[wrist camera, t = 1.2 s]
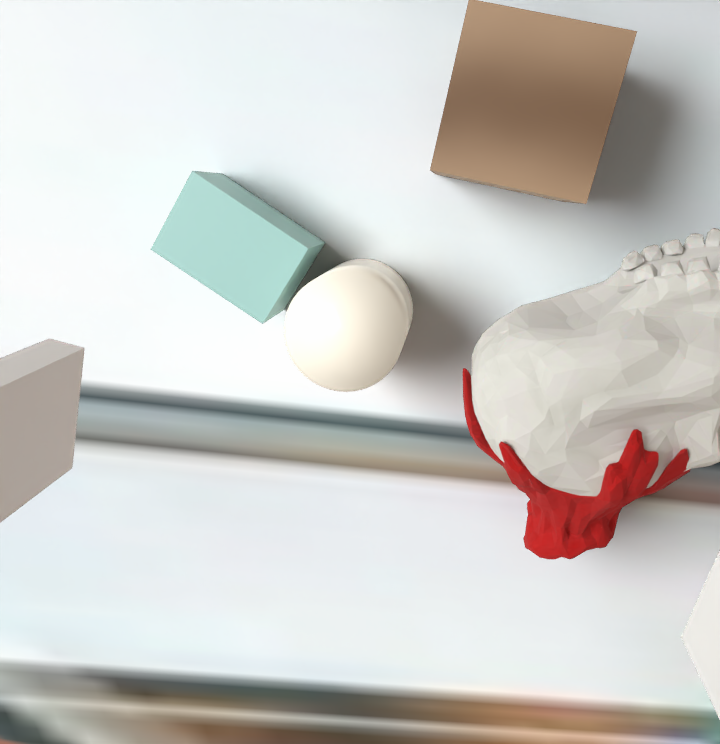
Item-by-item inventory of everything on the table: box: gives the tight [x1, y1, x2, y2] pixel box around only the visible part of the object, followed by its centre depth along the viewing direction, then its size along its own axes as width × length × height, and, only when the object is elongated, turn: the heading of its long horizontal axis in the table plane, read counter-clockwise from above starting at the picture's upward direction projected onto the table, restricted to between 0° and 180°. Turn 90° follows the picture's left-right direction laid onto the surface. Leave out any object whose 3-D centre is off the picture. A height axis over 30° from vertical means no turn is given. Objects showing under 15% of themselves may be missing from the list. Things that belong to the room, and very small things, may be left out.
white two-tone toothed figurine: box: [463, 228, 720, 559], centre depth 29 cm, size 9×11×15 cm
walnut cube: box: [430, 0, 637, 204], centre depth 28 cm, size 6×6×6 cm
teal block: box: [151, 171, 325, 324], centre depth 32 cm, size 4×6×4 cm, turn 57°
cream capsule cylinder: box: [284, 259, 413, 392], centre depth 31 cm, size 5×5×6 cm
